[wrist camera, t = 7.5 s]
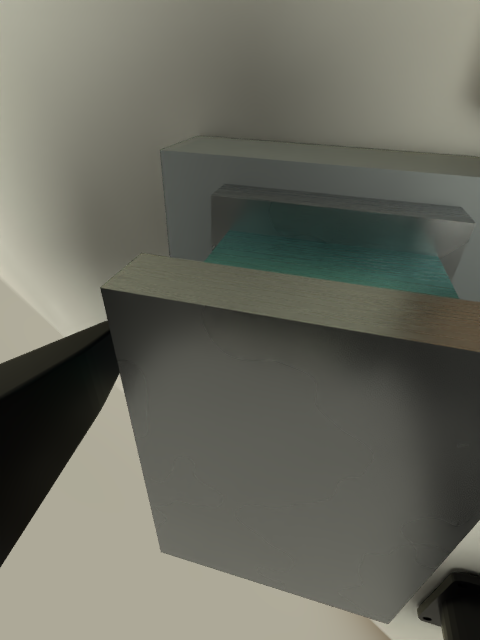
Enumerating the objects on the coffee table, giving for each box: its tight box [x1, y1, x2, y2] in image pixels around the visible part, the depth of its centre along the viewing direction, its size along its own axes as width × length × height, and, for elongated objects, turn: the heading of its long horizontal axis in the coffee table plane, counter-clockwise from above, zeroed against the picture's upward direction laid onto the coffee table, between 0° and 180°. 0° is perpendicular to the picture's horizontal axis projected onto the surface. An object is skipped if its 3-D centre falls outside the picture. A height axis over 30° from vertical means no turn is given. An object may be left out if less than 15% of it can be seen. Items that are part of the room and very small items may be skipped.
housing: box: [101, 184, 480, 624], centre depth 8 cm, size 5×7×5 cm
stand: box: [160, 136, 480, 302], centre depth 10 cm, size 8×8×2 cm
